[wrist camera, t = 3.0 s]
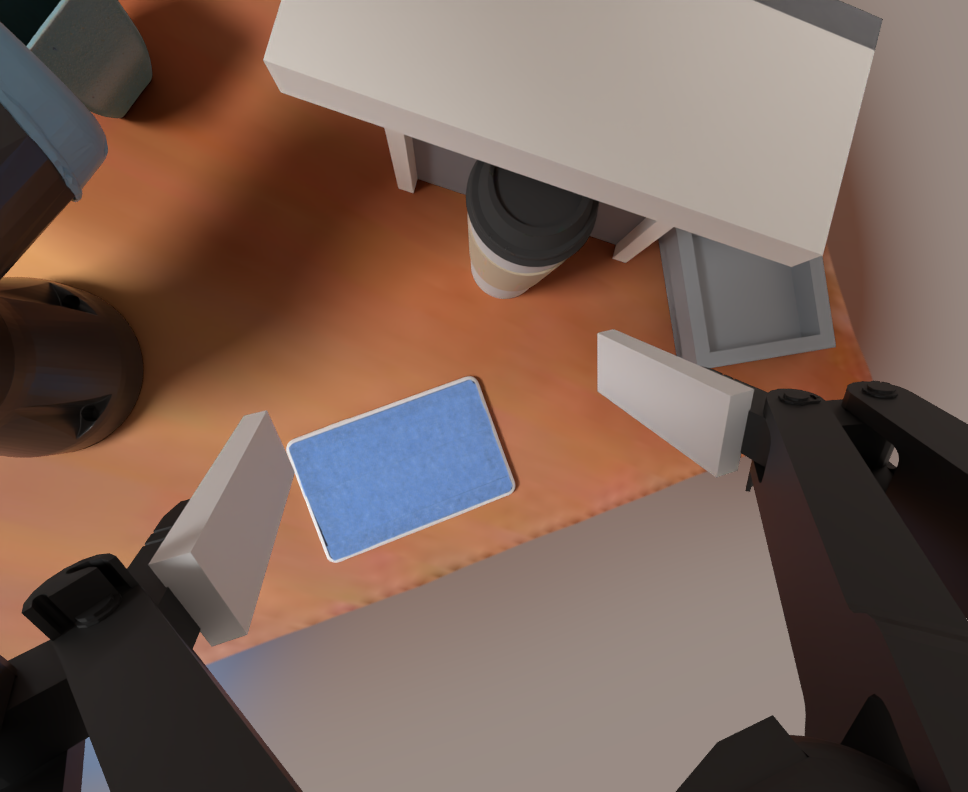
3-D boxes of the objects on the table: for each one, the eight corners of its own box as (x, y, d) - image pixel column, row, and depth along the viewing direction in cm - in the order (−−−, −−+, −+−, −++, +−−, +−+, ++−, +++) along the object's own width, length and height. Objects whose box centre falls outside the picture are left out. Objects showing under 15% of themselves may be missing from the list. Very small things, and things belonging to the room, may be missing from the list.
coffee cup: (566, 258, 38) (642, 170, 23) (513, 328, 38) (557, 283, 23) (495, 201, 38) (528, 73, 23) (441, 271, 37) (437, 187, 22)
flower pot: (38, 91, 34) (-109, -20, 25) (98, 14, 34) (-25, -121, 25) (128, 150, 34) (16, 64, 26) (185, 74, 35) (95, -36, 26)
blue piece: (332, 562, 37) (328, 568, 35) (285, 441, 36) (280, 442, 35) (516, 489, 38) (519, 492, 37) (474, 373, 38) (475, 372, 37)
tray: (679, 372, 40) (698, 370, 37) (656, 230, 39) (674, 216, 36) (807, 350, 41) (836, 346, 38) (786, 213, 41) (813, 199, 38)
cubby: (375, 266, 37) (263, 60, 14) (406, 159, 37) (344, -210, 14) (605, 337, 39) (822, 255, 16) (633, 235, 39) (882, 18, 17)
